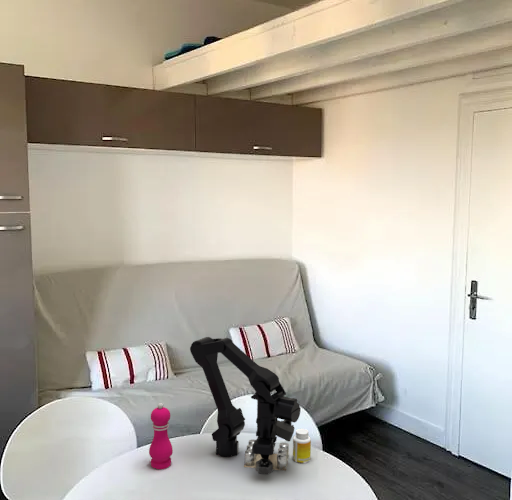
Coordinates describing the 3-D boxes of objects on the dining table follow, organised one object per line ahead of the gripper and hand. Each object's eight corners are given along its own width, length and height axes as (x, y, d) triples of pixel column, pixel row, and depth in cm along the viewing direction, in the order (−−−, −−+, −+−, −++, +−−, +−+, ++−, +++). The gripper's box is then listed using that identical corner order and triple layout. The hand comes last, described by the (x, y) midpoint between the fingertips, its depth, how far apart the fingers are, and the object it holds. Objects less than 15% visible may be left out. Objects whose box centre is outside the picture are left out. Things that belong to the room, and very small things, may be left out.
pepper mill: (144, 467, 178) (143, 405, 176) (157, 457, 185) (156, 397, 182) (165, 472, 175) (164, 409, 173) (177, 461, 182) (176, 400, 179)
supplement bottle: (313, 462, 182) (314, 431, 181) (301, 468, 179) (301, 436, 178) (301, 456, 187) (302, 425, 185) (289, 461, 183) (289, 430, 182)
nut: (254, 473, 173) (254, 466, 173) (257, 465, 178) (257, 458, 177) (271, 475, 173) (271, 467, 172) (273, 467, 177) (273, 459, 177)
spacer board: (241, 476, 173) (241, 473, 173) (248, 454, 187) (248, 451, 187) (284, 480, 172) (284, 477, 171) (288, 457, 185) (288, 454, 185)
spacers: (243, 466, 177) (243, 454, 177) (249, 450, 188) (249, 439, 187) (286, 470, 175) (286, 457, 175) (289, 454, 186) (289, 442, 185)
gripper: (290, 429, 166) (289, 480, 168) (295, 403, 184) (294, 450, 186) (252, 426, 167) (251, 477, 170) (260, 401, 186) (260, 447, 188)
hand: (266, 462), depth 178 cm, fingers closed
